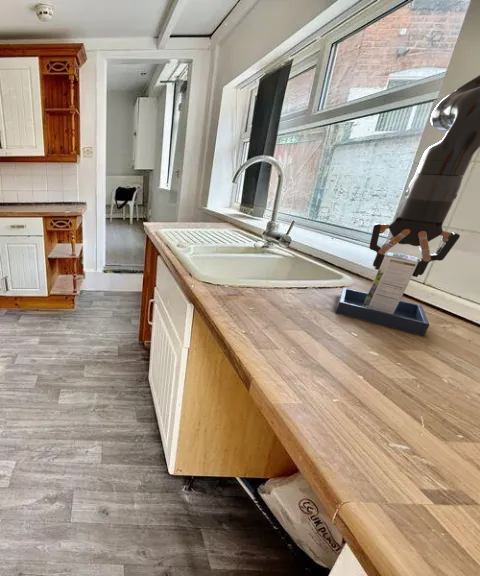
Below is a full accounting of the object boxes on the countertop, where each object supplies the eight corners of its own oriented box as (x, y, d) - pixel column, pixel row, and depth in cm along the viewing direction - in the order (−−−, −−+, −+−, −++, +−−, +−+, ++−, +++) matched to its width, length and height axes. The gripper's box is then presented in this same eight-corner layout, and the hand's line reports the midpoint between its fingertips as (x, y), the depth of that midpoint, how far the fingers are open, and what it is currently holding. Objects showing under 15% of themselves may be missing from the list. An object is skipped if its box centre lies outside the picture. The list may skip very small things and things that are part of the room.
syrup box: (363, 305, 79) (385, 251, 74) (393, 313, 75) (419, 256, 70) (360, 311, 75) (383, 255, 70) (392, 320, 71) (419, 261, 66)
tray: (416, 315, 76) (421, 305, 75) (423, 336, 66) (429, 324, 65) (339, 297, 85) (343, 287, 84) (335, 312, 75) (339, 301, 74)
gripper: (474, 200, 63) (435, 276, 70) (383, 193, 72) (356, 262, 78) (484, 202, 58) (441, 285, 64) (384, 195, 66) (355, 268, 73)
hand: (395, 272), depth 71 cm, fingers closed on syrup box, 6 cm apart
